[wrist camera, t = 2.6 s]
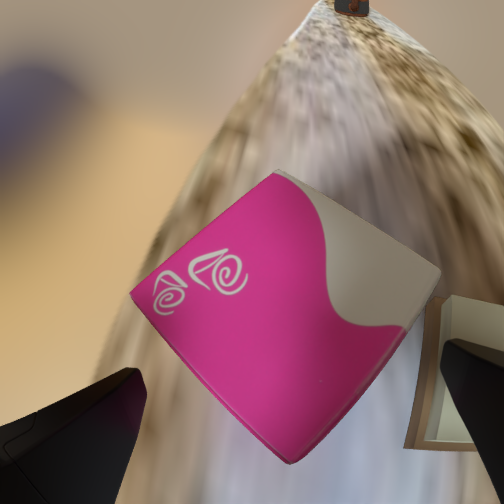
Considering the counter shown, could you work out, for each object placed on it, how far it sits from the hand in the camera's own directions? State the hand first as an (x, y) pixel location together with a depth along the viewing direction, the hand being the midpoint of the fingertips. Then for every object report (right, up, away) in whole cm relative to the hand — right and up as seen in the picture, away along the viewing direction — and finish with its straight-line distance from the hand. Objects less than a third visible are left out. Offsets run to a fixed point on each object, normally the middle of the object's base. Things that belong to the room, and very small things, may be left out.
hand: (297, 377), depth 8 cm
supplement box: (+1, -4, +9) cm, 9 cm away
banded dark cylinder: (+23, +60, +48) cm, 80 cm away
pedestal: (+13, -5, +6) cm, 15 cm away
